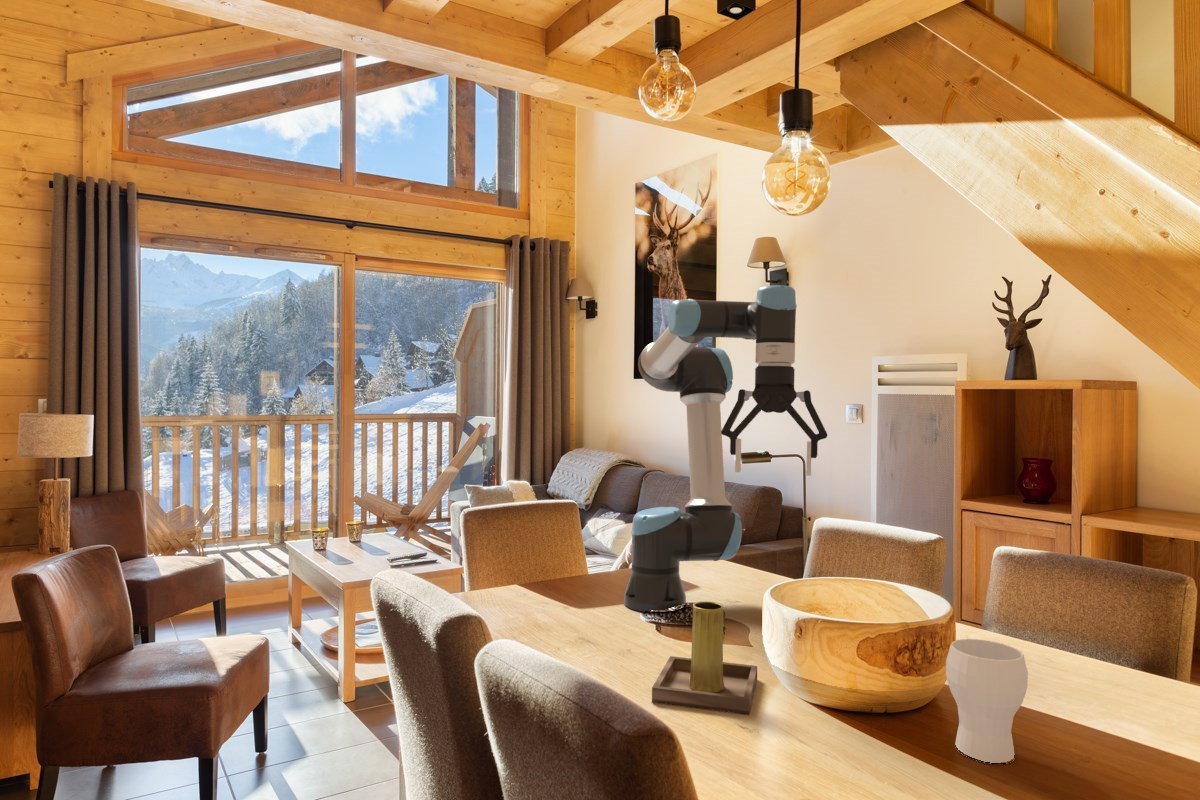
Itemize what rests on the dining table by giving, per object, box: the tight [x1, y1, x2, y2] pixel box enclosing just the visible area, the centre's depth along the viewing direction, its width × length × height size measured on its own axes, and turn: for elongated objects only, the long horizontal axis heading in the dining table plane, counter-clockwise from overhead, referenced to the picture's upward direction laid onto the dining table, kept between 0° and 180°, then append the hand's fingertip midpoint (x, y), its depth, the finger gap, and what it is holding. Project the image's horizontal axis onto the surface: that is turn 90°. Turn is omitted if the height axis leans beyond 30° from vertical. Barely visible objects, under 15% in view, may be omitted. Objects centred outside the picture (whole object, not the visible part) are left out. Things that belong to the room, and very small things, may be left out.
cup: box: [945, 638, 1029, 764], centre depth 111 cm, size 11×11×15 cm
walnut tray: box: [651, 655, 758, 716], centre depth 132 cm, size 16×16×2 cm
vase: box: [689, 601, 724, 693], centre depth 132 cm, size 6×6×14 cm
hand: (772, 473), depth 149 cm, fingers open, 13 cm apart
